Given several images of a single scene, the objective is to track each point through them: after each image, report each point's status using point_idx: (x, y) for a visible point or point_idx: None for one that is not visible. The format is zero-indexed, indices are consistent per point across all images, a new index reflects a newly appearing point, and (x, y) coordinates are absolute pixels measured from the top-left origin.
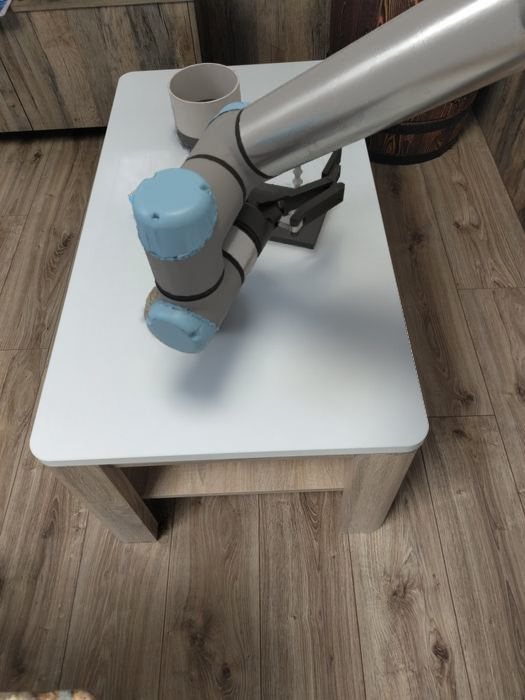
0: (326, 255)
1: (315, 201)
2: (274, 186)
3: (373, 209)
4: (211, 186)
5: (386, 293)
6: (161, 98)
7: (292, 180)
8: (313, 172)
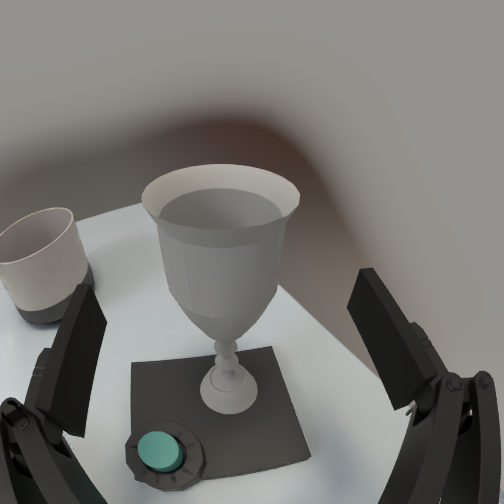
0: (336, 456)
1: (491, 481)
2: (169, 364)
3: (336, 340)
4: None
5: None
6: None
7: (215, 362)
8: None
